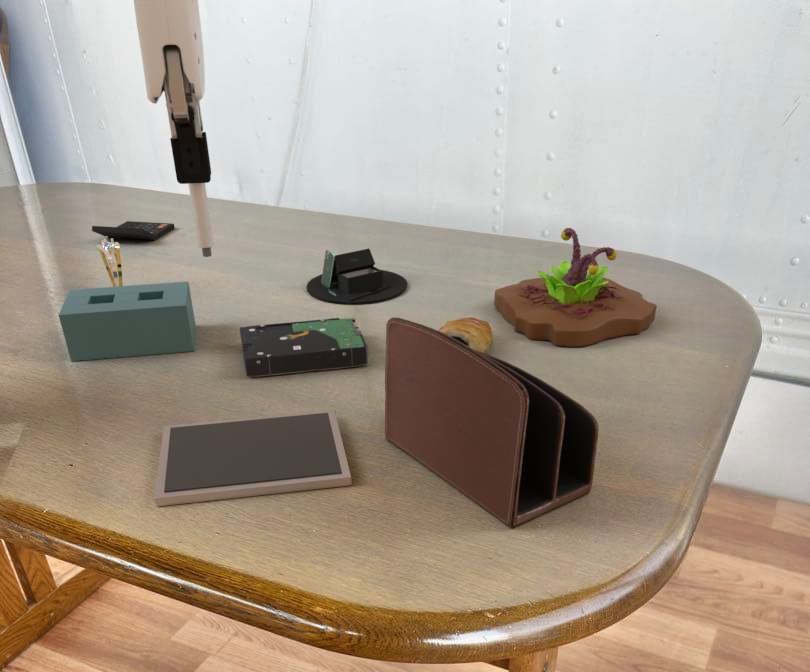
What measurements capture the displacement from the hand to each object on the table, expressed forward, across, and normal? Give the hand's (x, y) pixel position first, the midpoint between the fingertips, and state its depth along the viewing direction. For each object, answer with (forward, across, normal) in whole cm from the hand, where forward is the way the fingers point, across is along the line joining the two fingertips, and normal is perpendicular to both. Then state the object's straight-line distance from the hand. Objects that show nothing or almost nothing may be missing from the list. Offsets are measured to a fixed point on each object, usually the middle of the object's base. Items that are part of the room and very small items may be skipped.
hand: (194, 178), depth 80 cm
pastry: (+23, -6, +30) cm, 38 cm away
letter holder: (+23, +22, +25) cm, 40 cm away
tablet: (+23, +16, +3) cm, 28 cm away
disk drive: (+23, -8, +10) cm, 26 cm away
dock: (+23, -17, -12) cm, 31 cm away
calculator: (+23, -67, -16) cm, 72 cm away
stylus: (+8, 0, 0) cm, 8 cm away
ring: (+23, -36, -16) cm, 45 cm away
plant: (+23, -14, +46) cm, 54 cm away
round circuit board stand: (+23, -32, +19) cm, 44 cm away
